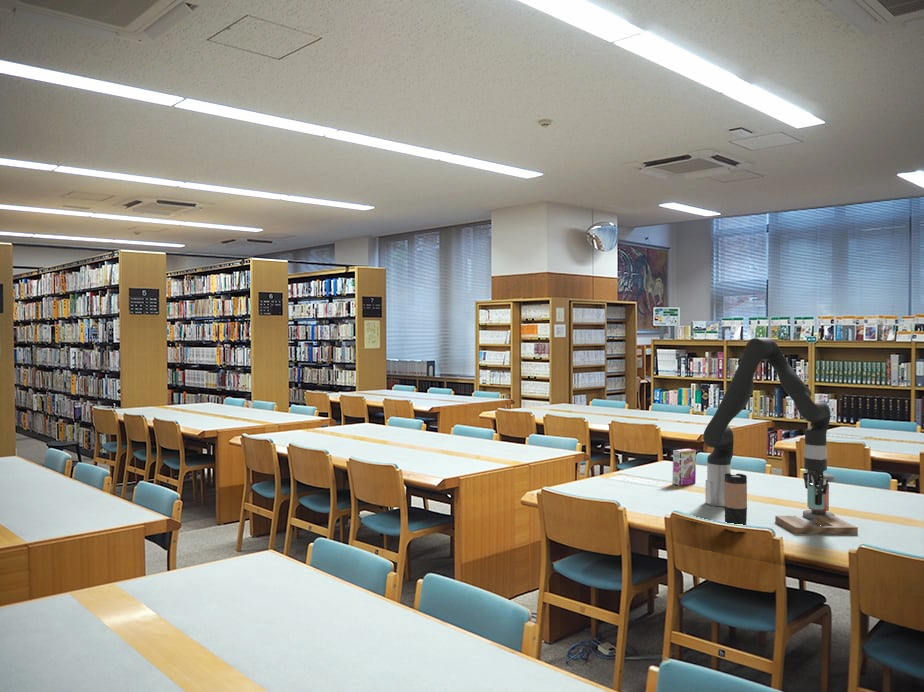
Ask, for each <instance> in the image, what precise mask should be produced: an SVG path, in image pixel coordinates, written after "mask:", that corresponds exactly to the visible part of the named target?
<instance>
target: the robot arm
mask: <svg viewBox="0 0 924 692" xmlns="http://www.w3.org/2000/svg"><path fill="white" fill-rule="evenodd" d="M763 361H764V362H767V364H769V365H770V366H771V368H773V369H774V371H775V372H776V374H777V377H778V380H779V384H780V385H781V388H783V390H784V392H785V393H786V394H787V395H788V396H789V398H790V399H791V400H792V401H793V403H794V405H795V407H796V410H797V411H798V413H799V415H800V417H802V418H803V419H804V421H807V422H808V423H809V422H810V425H809V427H808V428H806V429H805V432H804V450H803V468H804V470H807V472H804V471H803V473H802V477H803V476H804V478H803V481H804V488H805V489H806V490H807V485H813V487H814V488H815V494H816V495H815V504H816V505H822V495H823V494H826V491H827V486H828V484H829V482H828V479H824V475H823V473H824V472H825V471H827V470H828V448H827V432H828V429H829V426H830V423H831V422H830V420H831V410H830V407H829V406H828V404H827V403H825V402H823V401H815V402H814V401H813V399H812V398H811V396H812V391H811V390H810V389H809V387H808V385H807V384H805V382H804V381H803V380H802V379H801V378H800V377H799V376H798V374H797V373H796V372H795V370H794V369H793V368H792V366H791V365H790V363H789V361H788V359H787V358H786V357H785V354H784V353H783V352H782V350H781V348H780V346H779V345H778V344H777V342H776V341H775V340H774V339H772V338H770V337H753V338H751V339H750V340H749V341H748V342H747V343H746V345H745V347H744V349H743V353H742V355H741V358H740V361H739V364H738V366H737V368H736V371H735V373H734V375H733V377H732V378H731V380H730V383H728V386H727V388H726V391H725V393H724V395H723V398H722V400H721V401H720V403H719V406H718V407H717V409H716V411H715V412H714V415H713V417H712V418H711V420H710V421H709V423H707V426H706V427H705V429H704V431H703V435H702V439H703V442H704V445H706V446H707V447H708V448H711V449H713V450H712V451H711V453H710V454H708V455H707V461H706V462H707V466H706V467H707V468H706V469H707V470H706V472H707V475H706V476H707V477H706V478H707V479H705V503H706V504H707V505H709V506H711V507H712V506H713V507H724V506H725V505H724V497H725V474H727V473H730V474H731V475H732V473H731V470H732V467H731V465H732V464H731V463H732V459H733V455H734V441H735V440H734V439H735V437H734V433H733V430H732V428H731V427H730V425H729V424H730V422H732V421H733V420H734V418H736V416H738V415H739V414H740V413H741V412H742V411H743V410H744V409H745V407H746V406H747V404H748V403H749V400H750V399H751V396H752V394H753V391H754V375H755V373H756V371H757V369H758V366H759V365H760V363H762V362H763ZM816 485H819V486H816ZM817 488H818V489H817Z"/></svg>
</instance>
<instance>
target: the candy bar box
mask: <svg viewBox="0 0 924 692" xmlns="http://www.w3.org/2000/svg"><path fill="white" fill-rule="evenodd" d="M696 463H697V450H696V449H692V448H684V449H683V448H682V449H674V450H673V451H672V483H671V485H673V486H674V485H675V486H678V487H682V486H689V485H693V484H696V473H697V469H696V467H697V465H696Z"/></svg>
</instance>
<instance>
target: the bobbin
mask: <svg viewBox="0 0 924 692" xmlns="http://www.w3.org/2000/svg"><path fill="white" fill-rule="evenodd" d="M823 475H824V479H828V486H827V491H826V494H824V509H811V508H809V507H808V510H806V509H805V510H803V511H802V517H803V518H805V519H807V518H808V520H811V519H813V520H812V521H814V516H835V517H836V515H835V513H833V512H830V484H829V483H832V482H835V481H836V475H834V474H830V473H825V472H823ZM802 478H803V479H804V476H803V475H802Z"/></svg>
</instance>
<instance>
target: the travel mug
mask: <svg viewBox="0 0 924 692" xmlns="http://www.w3.org/2000/svg"><path fill="white" fill-rule="evenodd" d="M747 482H748V475H746V474H743V473H736V474H732V473H731V474H730V473H727V474H725V497H724V505H725V506H723V507H724V509H723V510H724V523H725V522H727V523H734V524H743V525H746V526H747V519H748V518H747V515H748V514H747V513H748V483H747Z"/></svg>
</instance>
